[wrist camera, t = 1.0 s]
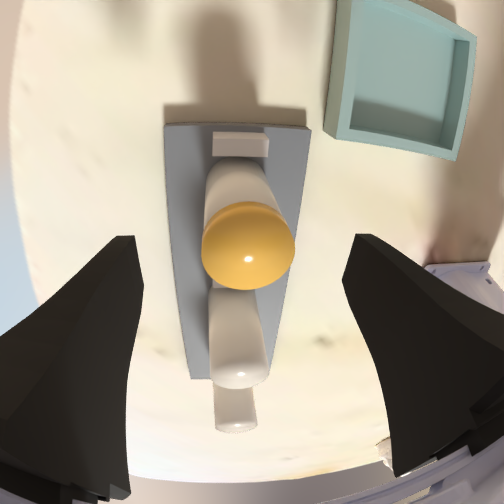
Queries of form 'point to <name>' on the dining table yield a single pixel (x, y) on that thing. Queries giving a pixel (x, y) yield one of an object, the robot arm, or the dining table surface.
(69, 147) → the dining table surface
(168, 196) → the fuse panel
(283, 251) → the cylinder
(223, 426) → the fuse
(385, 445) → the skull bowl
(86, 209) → the dining table surface
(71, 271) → the dining table surface
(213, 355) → the fuse middle
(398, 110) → the tray
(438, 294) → the robot arm
